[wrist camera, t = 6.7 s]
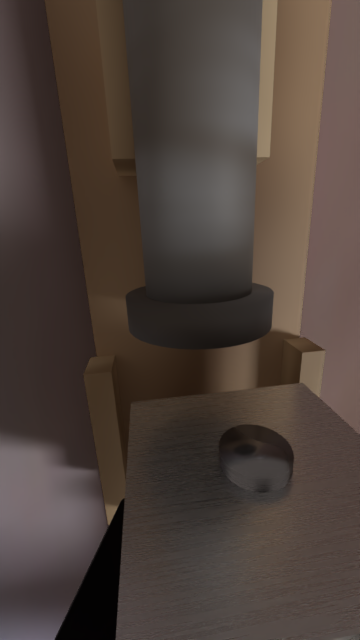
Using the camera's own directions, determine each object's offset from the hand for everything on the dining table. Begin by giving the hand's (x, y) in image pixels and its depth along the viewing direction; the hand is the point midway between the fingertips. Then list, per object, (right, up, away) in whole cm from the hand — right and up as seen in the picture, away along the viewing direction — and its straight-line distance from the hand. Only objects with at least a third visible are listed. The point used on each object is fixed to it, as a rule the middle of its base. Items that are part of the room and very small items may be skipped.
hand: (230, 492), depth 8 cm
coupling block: (0, 0, +1) cm, 1 cm away
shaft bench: (-1, +1, +4) cm, 4 cm away
